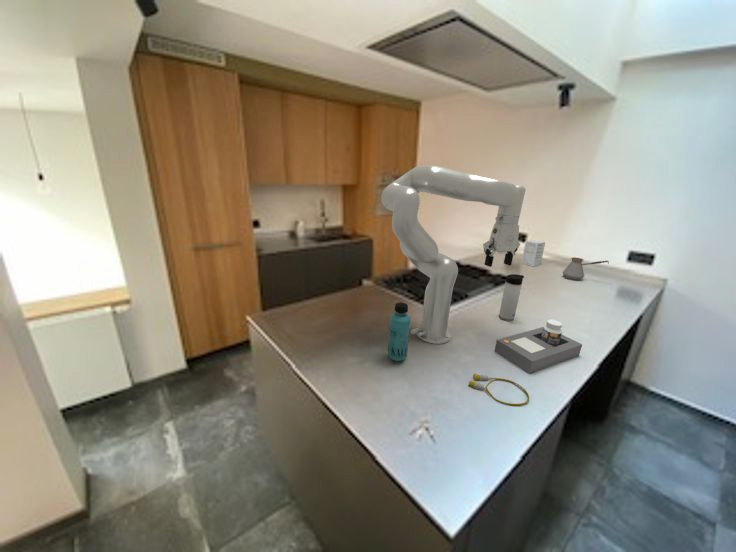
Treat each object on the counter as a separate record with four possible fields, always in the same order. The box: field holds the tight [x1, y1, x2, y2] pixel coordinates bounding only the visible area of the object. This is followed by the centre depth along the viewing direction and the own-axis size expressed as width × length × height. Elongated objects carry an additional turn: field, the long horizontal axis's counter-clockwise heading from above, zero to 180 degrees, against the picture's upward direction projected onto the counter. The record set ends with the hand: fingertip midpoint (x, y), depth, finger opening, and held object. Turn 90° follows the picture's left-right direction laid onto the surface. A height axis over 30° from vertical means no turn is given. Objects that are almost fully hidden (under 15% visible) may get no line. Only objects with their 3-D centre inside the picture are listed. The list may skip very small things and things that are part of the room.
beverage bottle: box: [387, 302, 411, 362], centre depth 97 cm, size 6×7×20 cm
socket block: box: [494, 326, 583, 374], centre depth 107 cm, size 26×14×5 cm, turn 116°
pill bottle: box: [540, 319, 563, 347], centre depth 108 cm, size 6×6×10 cm
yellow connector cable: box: [468, 373, 530, 407], centre depth 88 cm, size 12×16×2 cm
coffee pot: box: [562, 256, 610, 281], centre depth 186 cm, size 21×12×15 cm, turn 46°
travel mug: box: [498, 273, 525, 322], centre depth 130 cm, size 6×7×20 cm
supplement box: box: [520, 239, 546, 267], centre depth 216 cm, size 10×9×17 cm
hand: (497, 265), depth 116 cm, fingers open, 9 cm apart
